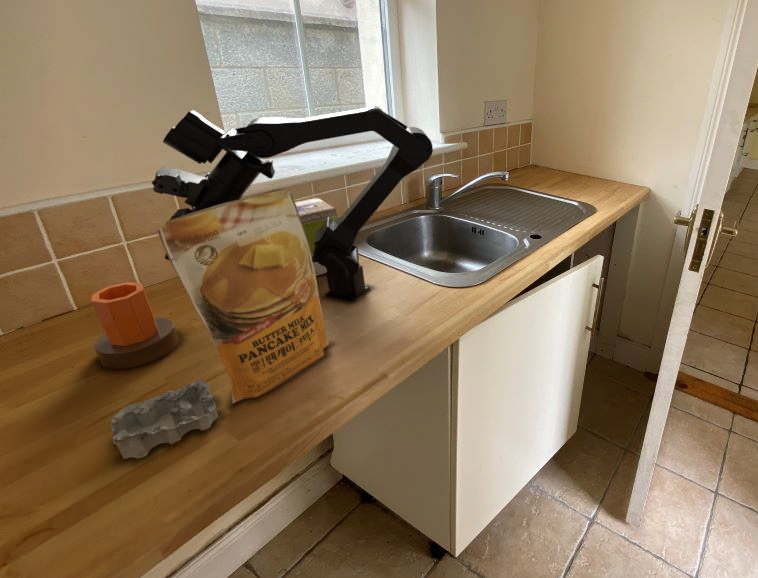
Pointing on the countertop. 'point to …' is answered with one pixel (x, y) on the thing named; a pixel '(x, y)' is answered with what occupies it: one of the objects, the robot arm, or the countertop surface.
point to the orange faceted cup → (125, 313)
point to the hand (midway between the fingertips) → (176, 248)
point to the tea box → (314, 223)
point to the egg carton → (163, 419)
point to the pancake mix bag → (251, 287)
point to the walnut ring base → (138, 348)
